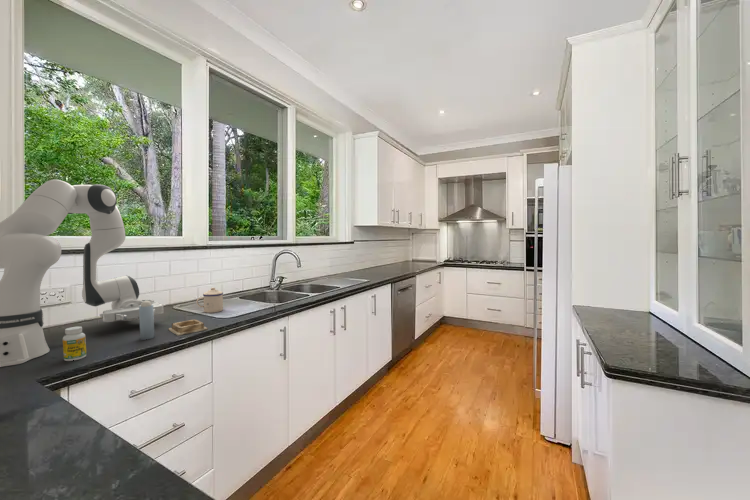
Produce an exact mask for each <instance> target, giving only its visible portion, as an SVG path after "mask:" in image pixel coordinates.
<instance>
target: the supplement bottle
mask: <svg viewBox="0 0 750 500" xmlns="http://www.w3.org/2000/svg"><path fill="white" fill-rule="evenodd" d="M64 333H65V335H63V337H62V351H63V360H64V361H66V362H72V361H73V360H74V361H78V360H82V359H84V358H85V357H87V342H86V341H87V340H86V334H85V333H84V332H83V327H82V326H73V327H72V326H70V327H67V328H65V329H64Z"/></svg>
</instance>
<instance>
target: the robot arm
mask: <svg viewBox="0 0 750 500" xmlns="http://www.w3.org/2000/svg"><path fill="white" fill-rule="evenodd" d="M117 200H118V199H117V196H116V193H115V191H114V190H113V189H112V188H111V187H109V186H107V185H105V184H100V183H99V184H74V185H71V184H70V183H68V182H67V181H63V180H61V179H50V180H47V181H45V182H44V183H43V184H41V185H39V187H38V188H36V189H35V190H34V191H33V192H31V194H30V195H29V196H28V197H27V198H26V199H25V200H24V201H23V203H21V204H20V206H19V207H18V208H17V209H16V210H15V211H14V212H13V213H12V214H10V215H9V216H7V217H6V218H4V219H3V220H2V221H0V269H2V270H4V271H3V274H2V277H1V279H0V368H2V367H8V366H15V365H20V364H24V363H26V362H27V361H30V360H32V359H35V358H38V357H41V356H44V355H45V354H47V353H49V352H50V351H51V350H50V348H49V346H48V343H47V341H46V337H45V334H44V330H43V329H44V328H43V326H44V323H45V322H44V312H43V310H42V308H41V286H42V281H43V278H44V276H45V274H46V273H47V271H48V270H49V269H50V268H51V267H52V266H54V265H55V264H56V263H58V261H59V259H60V258H61V257H62V246H61V244H60V243H59V242H58V240H57V239H56V238H54V237H53V236H49V235H51V234H53V233H55V232H56V231H57V229H58V228H59V227H60V225H61V224H62V223H63V221H64V220H65V219H66V217H67V216H68V214H69V215H72V214H86V215H87V216H88V217H89V218H88V219H89V226H90V231H91V236H90V240H89V242H88V243H86V244H85V245H84V248H83V257H82V258H83V259H82V263H83V264H82V265H83V266H82V267H83V269H82V270H83V271H82V274H83V275H82V277H83V280H82V281H83V282H82V283H83V285H82V290H81V296H82V301H83V302H84V304H86V305H88V306H92V307H95V308H96V307H99V306H101V305H105V304H108V303H111V306H110V307H111V309H106V310H103V312H102V313H100V314H99V317H100V318H102V321H103V322H104V323H110V322H118V321H124V322H133V321H136V320H138V319H139V306H141V304H142V302H143V301H150V302H151V305H153V310H154V316H156V315H162V314H164V305H163V304H161V303H160V302H157V301H155V300H154V299H139V297H140V288H139V285H138V283H137V281H136V280H135V279H134V278H132V277H131V276H130V275H127V274H126V275H122V276H118V277H113V278H109V279H103V280H98V279H97V265H98V264H97V263H98V261H99V259H100V258H102V256H104V255H105V254H108V253H109V252H111V251H114V250H116V249H118V248H119V247H120V246H121V245H122V244H124V242H125V240H126V229H125V224H124V221H123V218H122V215H121V213H120V210H119V208H118V206H117V202H118V201H117ZM139 320H140V319H139Z"/></svg>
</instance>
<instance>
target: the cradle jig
mask: <svg viewBox="0 0 750 500" xmlns="http://www.w3.org/2000/svg"><path fill="white" fill-rule="evenodd" d="M168 331H169V332H171V333H173V334H174V335H176V336H182V335H188V334H193V333H196V332H202V331H208V327H206V326H205V323H204V322H202V321H200V320H198V319H196V318H194V319H190V320H183V321H178V322H173V323H171V327H169V328H168Z"/></svg>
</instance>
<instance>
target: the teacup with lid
mask: <svg viewBox="0 0 750 500" xmlns="http://www.w3.org/2000/svg"><path fill="white" fill-rule="evenodd" d="M223 297H224V292H223V291H221V290H219V289H216V287H213V286H212V287H211V288H210V289H208V290H207V291H205V292H203V294H202V296H201V297H200V296H199V297H198V298H197V299H196V305H197V306H198V307H199V308H203V312H204V313H208V314H210V313H211V314H212V313H213V314H214V313H220V312H222V311H223V310H224V298H223ZM199 300H203V305H201V304H199Z"/></svg>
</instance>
